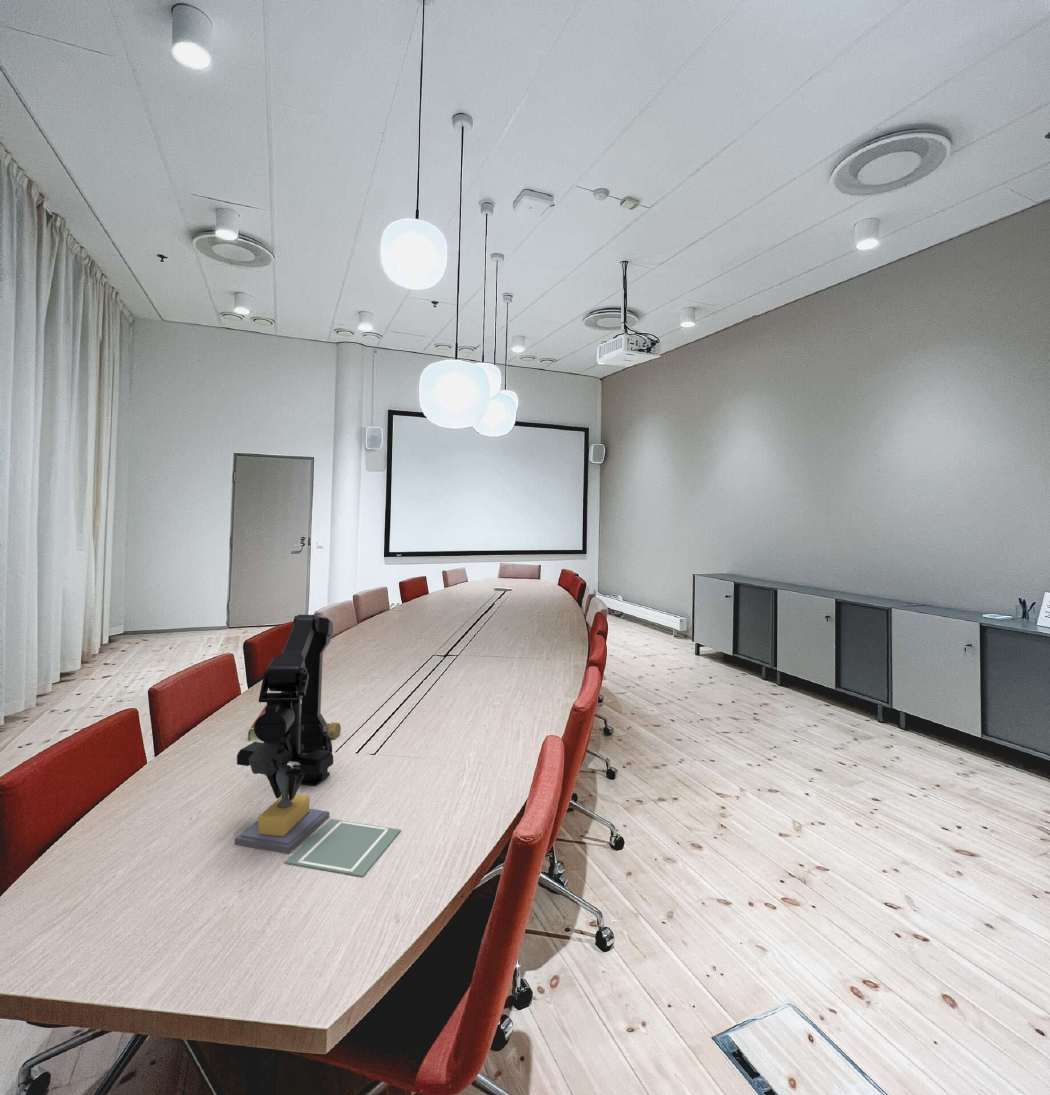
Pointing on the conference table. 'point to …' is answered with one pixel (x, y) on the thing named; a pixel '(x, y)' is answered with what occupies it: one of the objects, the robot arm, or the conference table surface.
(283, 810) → the rubber stamp
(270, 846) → the ink pad
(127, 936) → the conference table surface
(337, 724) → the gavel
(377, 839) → the marking board
